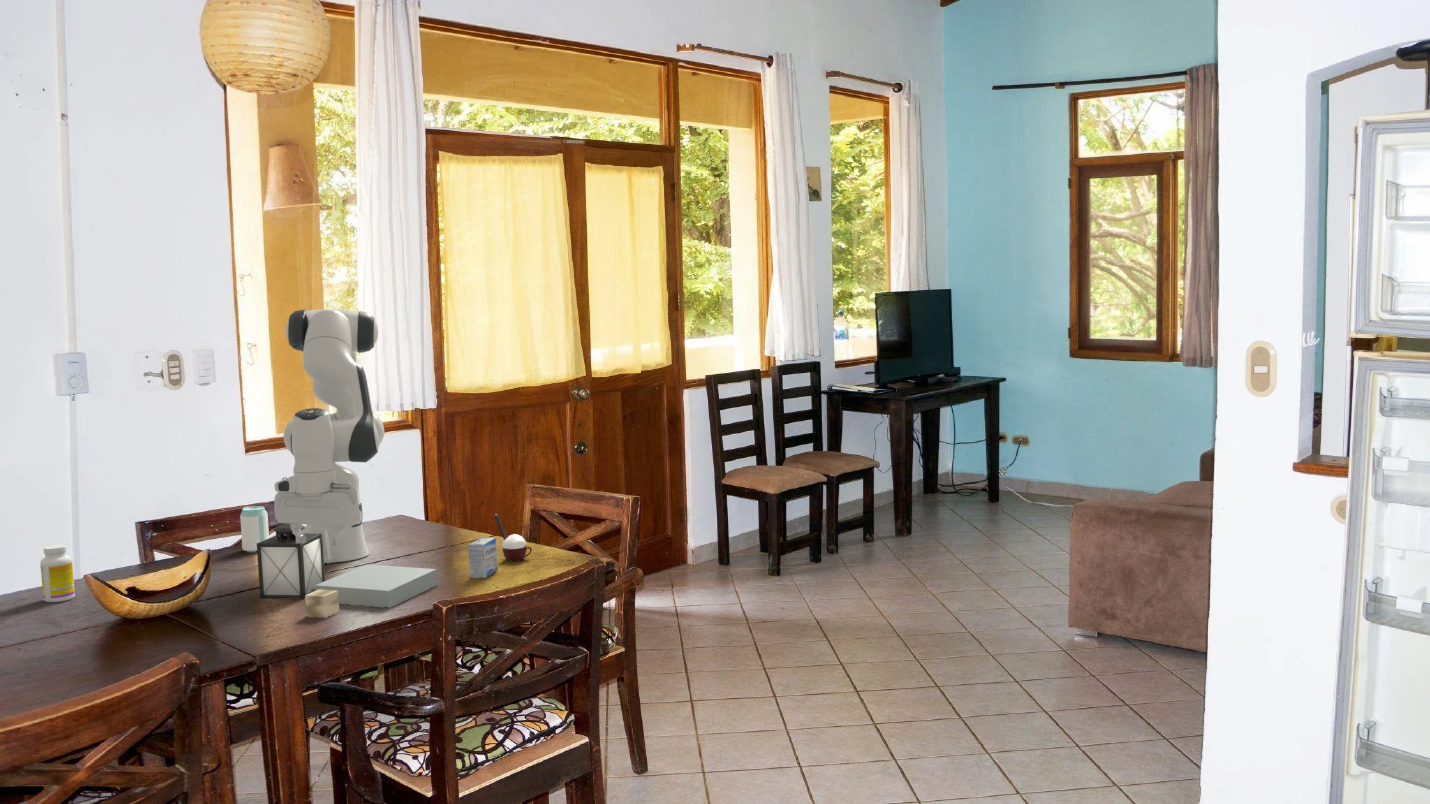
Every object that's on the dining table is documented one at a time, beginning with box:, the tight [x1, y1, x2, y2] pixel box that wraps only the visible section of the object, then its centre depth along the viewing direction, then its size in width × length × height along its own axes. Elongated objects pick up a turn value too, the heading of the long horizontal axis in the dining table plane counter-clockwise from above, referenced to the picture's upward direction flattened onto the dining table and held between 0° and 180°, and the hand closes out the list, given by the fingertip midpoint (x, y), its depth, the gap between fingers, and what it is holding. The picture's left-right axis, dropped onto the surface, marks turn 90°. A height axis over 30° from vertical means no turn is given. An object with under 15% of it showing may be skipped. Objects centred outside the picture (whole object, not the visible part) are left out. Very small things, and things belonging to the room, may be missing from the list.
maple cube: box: [304, 589, 340, 619], centre depth 258 cm, size 5×5×5 cm
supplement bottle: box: [39, 544, 76, 603], centre depth 275 cm, size 7×7×13 cm
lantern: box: [256, 477, 326, 599], centre depth 276 cm, size 11×11×28 cm
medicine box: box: [467, 537, 499, 579], centre depth 290 cm, size 8×4×9 cm, turn 168°
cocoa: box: [494, 513, 533, 562], centre depth 305 cm, size 10×6×12 cm, turn 62°
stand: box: [315, 564, 438, 609], centre depth 275 cm, size 20×20×4 cm
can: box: [239, 505, 270, 553], centre depth 322 cm, size 7×7×12 cm
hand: (319, 544), depth 257 cm, fingers open, 8 cm apart
